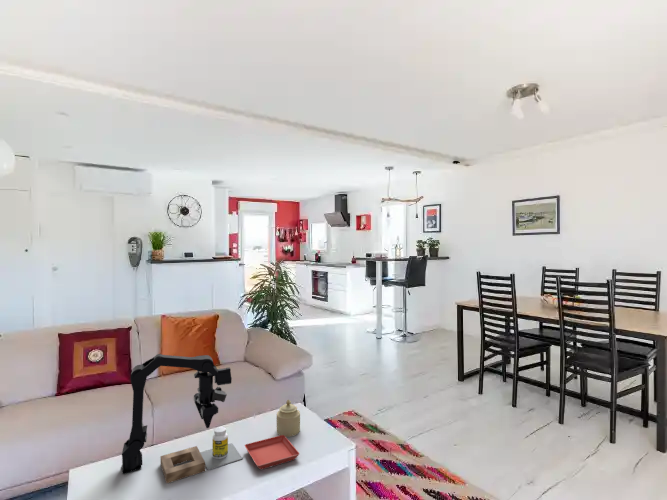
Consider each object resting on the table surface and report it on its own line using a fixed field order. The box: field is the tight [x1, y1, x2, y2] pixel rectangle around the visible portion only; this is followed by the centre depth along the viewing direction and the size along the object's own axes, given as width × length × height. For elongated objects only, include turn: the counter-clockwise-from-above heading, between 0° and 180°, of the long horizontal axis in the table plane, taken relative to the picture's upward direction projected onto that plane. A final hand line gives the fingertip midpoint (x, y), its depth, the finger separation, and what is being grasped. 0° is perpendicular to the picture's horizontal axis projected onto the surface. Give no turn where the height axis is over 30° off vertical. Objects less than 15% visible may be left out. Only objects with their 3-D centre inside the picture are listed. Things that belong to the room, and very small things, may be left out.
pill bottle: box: [212, 426, 229, 459], centre depth 158 cm, size 6×6×11 cm
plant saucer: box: [244, 435, 300, 470], centre depth 159 cm, size 18×18×3 cm
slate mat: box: [200, 442, 244, 471], centre depth 158 cm, size 14×14×1 cm
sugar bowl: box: [276, 399, 301, 438], centre depth 181 cm, size 15×11×15 cm
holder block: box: [159, 445, 206, 484], centre depth 150 cm, size 14×14×4 cm
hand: (205, 423), depth 161 cm, fingers open, 9 cm apart
